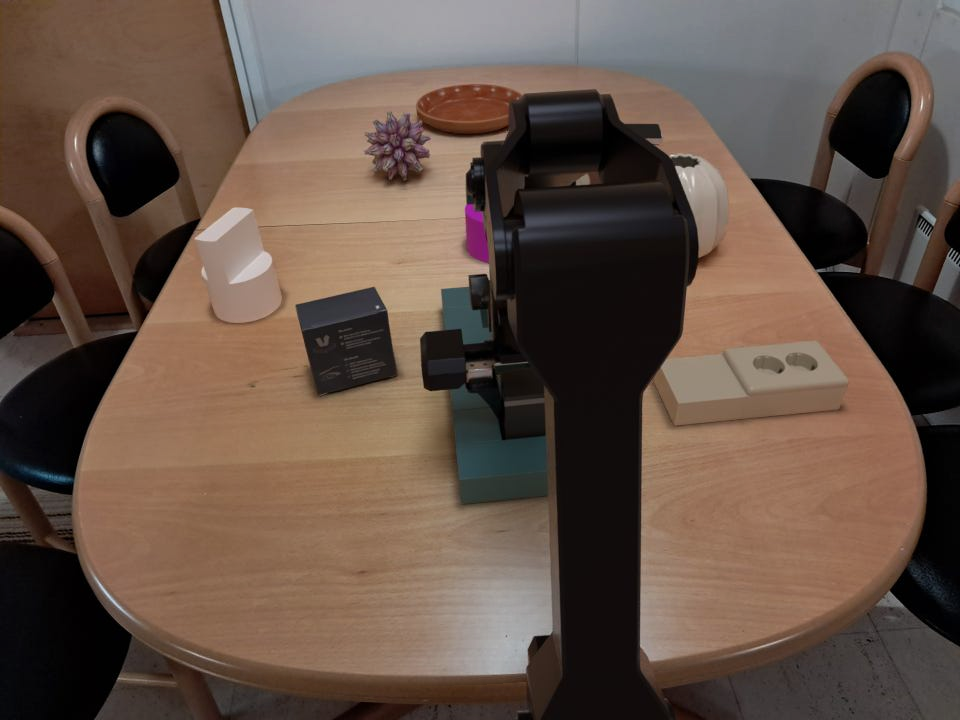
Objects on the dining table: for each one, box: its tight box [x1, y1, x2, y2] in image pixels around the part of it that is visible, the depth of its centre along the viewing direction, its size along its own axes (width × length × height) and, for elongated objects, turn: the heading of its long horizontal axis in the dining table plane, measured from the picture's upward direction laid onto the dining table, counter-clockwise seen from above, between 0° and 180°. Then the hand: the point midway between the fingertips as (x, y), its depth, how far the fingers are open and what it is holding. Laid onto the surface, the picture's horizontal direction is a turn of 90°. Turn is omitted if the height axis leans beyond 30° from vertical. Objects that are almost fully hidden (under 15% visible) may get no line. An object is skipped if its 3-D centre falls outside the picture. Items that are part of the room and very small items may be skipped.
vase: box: [667, 152, 730, 259], centre depth 97 cm, size 14×14×13 cm
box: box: [294, 286, 398, 397], centre depth 78 cm, size 9×6×10 cm, turn 110°
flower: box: [363, 109, 432, 182], centre depth 121 cm, size 12×12×12 cm
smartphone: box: [625, 123, 664, 145], centre depth 135 cm, size 8×1×15 cm
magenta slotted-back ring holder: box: [464, 203, 489, 263], centre depth 104 cm, size 16×10×6 cm, turn 177°
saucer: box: [415, 83, 523, 135], centre depth 145 cm, size 23×23×4 cm
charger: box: [498, 368, 546, 440], centre depth 68 cm, size 4×4×7 cm
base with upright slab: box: [194, 207, 283, 324], centre depth 90 cm, size 9×9×12 cm
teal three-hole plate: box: [440, 286, 548, 505], centre depth 77 cm, size 32×14×4 cm, turn 5°
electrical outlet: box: [653, 340, 850, 427], centre depth 74 cm, size 7×4×18 cm
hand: (523, 418), depth 69 cm, fingers closed on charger, 4 cm apart
